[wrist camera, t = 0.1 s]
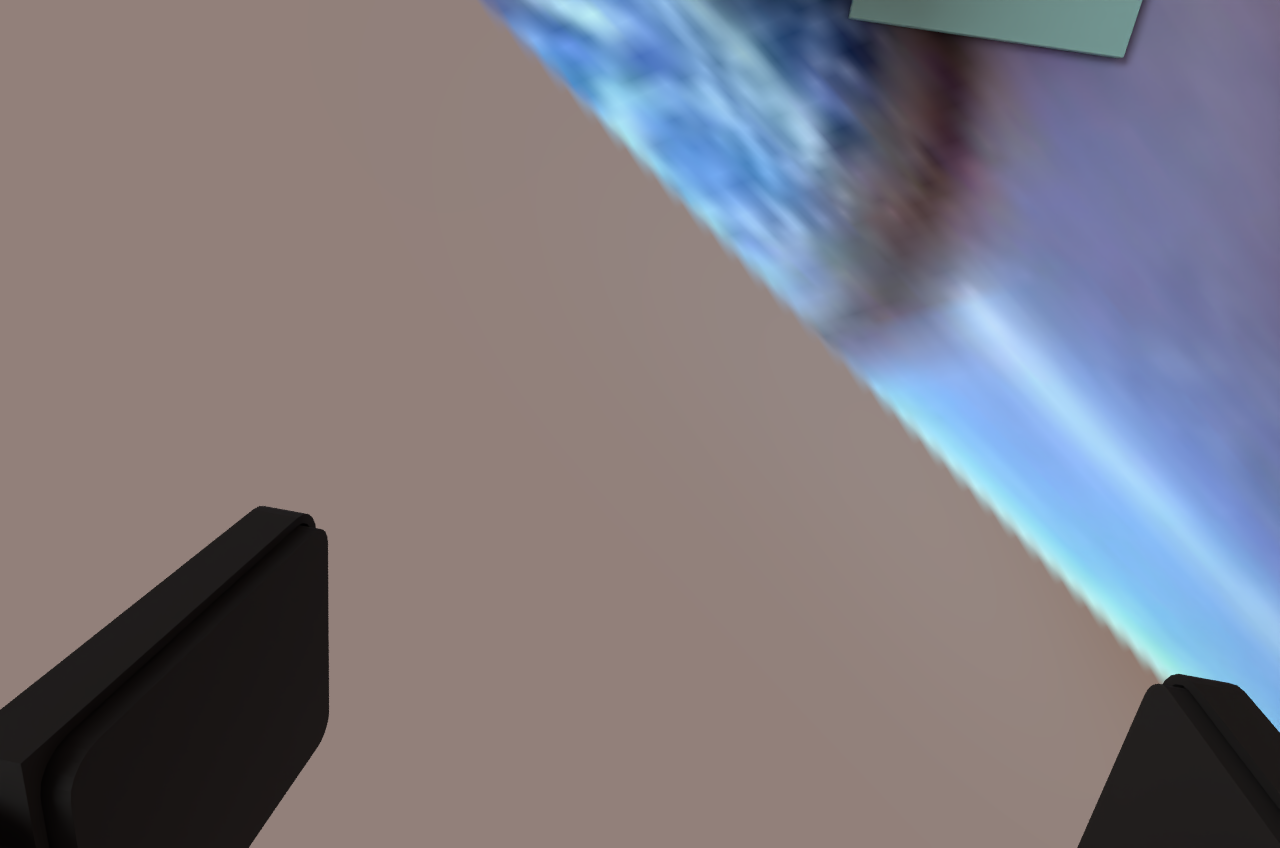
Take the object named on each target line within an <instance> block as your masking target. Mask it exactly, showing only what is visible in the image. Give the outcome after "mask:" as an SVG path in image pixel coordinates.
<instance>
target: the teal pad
mask: <svg viewBox="0 0 1280 848" xmlns="http://www.w3.org/2000/svg"><path fill="white" fill-rule="evenodd" d="M1141 3H1142V0H852V3H851V7H850V12H849V17H848V19H853V20H860V21H866V22H873V23H880V24H887V25H894V26H900V27H907V28H914V29H921V30H928V31H934V32H941V33H948V34H955V35H961V36H968V37H975V38H982V39H989V40H995V41H1002V42H1009V43H1016V44H1023V45H1029V46H1036V47H1043V48H1050V49H1057V50H1063V51H1070V52H1077V53H1084V54H1091V55H1097V56H1104V57H1111V58H1123V57H1124V54H1125V51H1126V48H1127V45H1128V42H1129V39H1130V36H1131V33H1132V30H1133V27H1134V24H1135V21H1136V18H1137V15H1138V12H1139V9H1140V6H1141Z"/></svg>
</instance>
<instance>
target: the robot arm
mask: <svg viewBox="0 0 1280 848" xmlns="http://www.w3.org/2000/svg"><path fill="white" fill-rule="evenodd" d="M328 644H329V642H328V540H327V535H326V532H325V531H324V530H322V529H317V528H316V527H315V523H314V520H313V518H312V517H311V516H310V515H309V514H304V513H298V512H294V511H288V510H282V509H277V508H271V507H266V506H259V507H257V508H255V509H253V510H252V511H251V512H249V513H248V514H247V515H246V516H244V517H243V518H242V519H241V520H239V521H238V522H237V523H236V524H234V525H233V526H232V527H231V528H229V529H228V530H227V531H226V532H224V533H223V534H222V535H221V536H219V537H218V538H217V539H215V540H214V541H213V542H212V543H210V544H209V545H208V546H207V547H205V548H204V549H203V550H201V551H200V552H199V553H198V554H196V555H195V556H194V557H193V558H191V559H190V560H189V561H188V562H186V563H185V564H184V565H183V566H181V567H180V568H179V569H177V570H176V571H175V572H174V573H172V574H171V575H170V576H169V577H167V578H166V579H165V580H164V581H163V582H161V583H160V584H159V585H157V586H156V587H155V588H154V589H152V590H151V591H150V592H148V593H147V594H146V595H145V596H143V597H142V598H141V599H140V600H138V601H137V602H136V603H135V604H133V605H132V606H131V607H130V608H128V609H127V610H126V611H124V612H123V613H122V614H121V615H119V616H118V617H117V618H116V619H114V620H113V621H112V622H111V623H109V624H108V625H107V626H106V627H104V628H103V629H102V630H100V631H99V632H98V633H97V634H95V635H94V636H93V637H92V638H91V639H89V640H88V641H87V642H85V643H84V644H83V645H82V646H80V647H79V648H78V649H77V650H75V651H74V652H73V653H71V654H70V655H69V656H68V657H66V658H65V659H64V660H63V661H61V662H60V663H59V664H58V665H56V666H55V667H54V668H53V669H51V670H50V671H49V672H47V673H46V674H45V675H44V676H42V677H41V678H40V679H39V680H38V681H36V682H35V683H34V684H32V685H31V686H30V687H29V688H27V689H26V690H25V691H23V692H22V693H21V694H20V695H18V696H17V697H16V698H15V699H13V700H12V701H11V702H10V703H8V704H7V705H6V706H5V707H3V708H2V709H1V710H0V848H249V846H250V845H251V843H252V842H253V840H254V839H255V837H256V836H257V835H258V833H259V832H260V830H261V829H262V827H263V826H264V824H265V823H266V821H267V820H268V819H269V817H270V816H271V814H272V813H273V811H274V810H275V808H276V807H277V805H278V804H279V802H280V801H281V800H282V798H283V797H284V795H285V794H286V792H287V791H288V789H289V788H290V786H291V785H292V784H293V782H294V781H295V779H296V778H297V776H298V775H299V773H300V772H301V770H302V769H303V768H304V766H305V765H306V763H307V762H308V760H309V759H310V757H311V756H312V754H313V753H314V751H315V750H316V748H317V747H318V745H319V744H320V742H321V740H322V738H323V735H324V733H325V730H326V726H327V722H328V717H329V654H328V653H329V649H328V646H329V645H328ZM1078 848H1280V732H1279V731H1278V730H1277V729H1276V728H1275V727H1274V725H1273V724H1272V723H1271V722H1270V721H1269V720H1268V718H1267V717H1266V716H1265V715H1264V714H1263V713H1262V711H1261V710H1260V709H1259V708H1258V707H1257V706H1256V704H1255V703H1254V702H1253V701H1252V700H1251V699H1250V697H1249V696H1248V695H1247V694H1246V693H1245V692H1244V691H1243V690H1242V689H1241V688H1240V687H1238V686H1237V685H1234V684H1230V683H1226V682H1220V681H1215V680H1209V679H1204V678H1198V677H1193V676H1188V675H1182V674H1175V675H1171V676H1170V677H1169V678H1167V679H1166V680H1165V681H1164V683H1163V684H1155V685H1152V686H1151V687H1150V688H1149V689H1148V690H1147V692H1146V694H1145V695H1144V698H1143V700H1142V702H1141V705H1140V707H1139V709H1138V711H1137V713H1136V716H1135V718H1134V720H1133V723H1132V725H1131V727H1130V729H1129V732H1128V734H1127V736H1126V739H1125V741H1124V743H1123V745H1122V748H1121V750H1120V752H1119V754H1118V757H1117V759H1116V761H1115V763H1114V766H1113V768H1112V770H1111V773H1110V775H1109V777H1108V780H1107V782H1106V784H1105V786H1104V788H1103V791H1102V793H1101V795H1100V798H1099V800H1098V802H1097V804H1096V807H1095V809H1094V811H1093V814H1092V816H1091V818H1090V820H1089V823H1088V825H1087V827H1086V829H1085V832H1084V834H1083V836H1082V838H1081V841H1080V843H1079V845H1078Z"/></svg>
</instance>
